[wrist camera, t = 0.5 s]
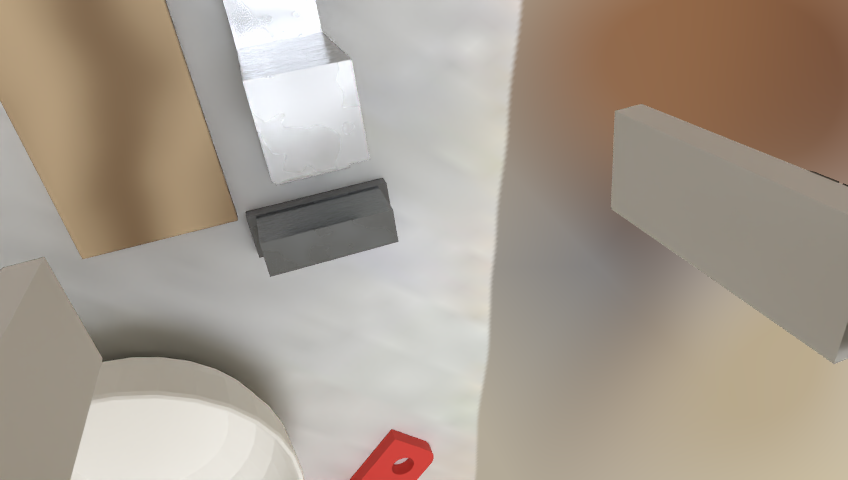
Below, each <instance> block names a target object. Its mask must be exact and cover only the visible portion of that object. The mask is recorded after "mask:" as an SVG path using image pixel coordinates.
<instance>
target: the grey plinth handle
mask: <svg viewBox="0 0 848 480" xmlns="http://www.w3.org/2000/svg"><path fill="white" fill-rule="evenodd" d="M246 218H247V221H248V224H249V227H250V230H251V233H252V236H253V239H254V242H255V246H256V249H257V252H258V255H259V258H260V257H264V258H265V262H266V265H267V268H268V271H269V274H270V277H271V276H275V275H278V274H282V273H286V272H289V271H293V270H297V269H300V268H304V267H307V266H311V265H315V264H318V263H322V262H326V261H329V260H333V259H337V258H340V257H344V256H348V255H351V254H355V253H359V252H362V251H366V250H370V249H373V248H377V247H381V246H384V245H388V244H392V243H395V242H398V237H397V231H396V226H395V220H394V214H393V209H392V208H391V206H390V201H389V196H388V190H387V184H386V182H385V180H384V179H383V178H381V179H377V180H373V181H369V182H365V183H361V184H357V185H353V186H349V187H345V188H341V189H337V190H333V191H329V192H325V193H321V194H317V195H313V196H309V197H305V198H300V199H296V200H292V201H288V202H284V203H280V204H276V205H272V206H268V207H264V208H260V209H256V210H252V211H248V212H246Z"/></svg>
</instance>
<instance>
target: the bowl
mask: <svg viewBox="0 0 848 480" xmlns="http://www.w3.org/2000/svg"><path fill="white" fill-rule="evenodd" d="M70 480H304V474H303V471H302V468H301V466H300V463H299V461H298V459H297V456H296V454H295V451H294V449H293V447H292V444H291V442H290V440H289V437H288V435H287V433H286V430H285V428H284V426H283V423H282V422H281V421H280V419H279V418H278V417H277V416H276V414H275V413H274V412H273V410H272V409H271V408H270V406H269V405H267V404H266V403H265V402H264V401H262V400H261V399H260V398H259V397H257V396H256V395H255V394H254V393H253V392H252V391H251V390H249V389H248V388H247V387H246V386H244V385H243V384H242V383H241V382H239V381H238V380H237V379H235V378H233V377H231V376H229V375H227V374H225V373H223V372H221V371H219V370H217V369H215V368H212V367H208V366H205V365H202V364H198V363H195V362H191V361H186V360H179V359H171V358H164V357H130V358H124V359H118V360H111V361H105V362H102V363H101V367H100V371H99V375H98V378H97V382H96V386H95V389H94V393H93V397H92V401H91V404H90V408H89V412H88V416H87V419H86V423H85V427H84V431H83V434H82V438H81V442H80V446H79V449H78V453H77V457H76V461H75V464H74V468H73V472H72V475H71V479H70Z"/></svg>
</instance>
